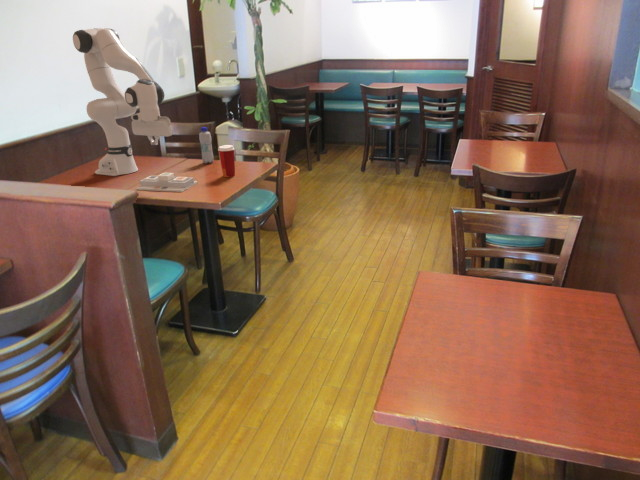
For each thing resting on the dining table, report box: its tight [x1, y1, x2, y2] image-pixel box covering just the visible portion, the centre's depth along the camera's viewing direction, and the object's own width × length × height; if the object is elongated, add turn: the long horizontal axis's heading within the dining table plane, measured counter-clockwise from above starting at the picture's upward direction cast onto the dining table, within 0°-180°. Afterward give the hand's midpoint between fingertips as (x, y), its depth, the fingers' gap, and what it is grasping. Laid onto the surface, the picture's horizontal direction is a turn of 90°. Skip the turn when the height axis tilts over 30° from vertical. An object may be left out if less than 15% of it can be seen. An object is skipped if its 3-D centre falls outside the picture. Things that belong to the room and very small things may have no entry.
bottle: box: [198, 126, 214, 164], centre depth 283 cm, size 7×7×20 cm
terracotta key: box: [172, 176, 190, 182], centre depth 242 cm, size 6×6×3 cm
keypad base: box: [136, 176, 198, 193], centre depth 245 cm, size 24×15×4 cm, turn 74°
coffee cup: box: [217, 144, 236, 178], centre depth 256 cm, size 8×8×15 cm
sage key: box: [157, 172, 176, 182], centre depth 244 cm, size 6×6×3 cm
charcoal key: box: [144, 175, 158, 181], centre depth 246 cm, size 6×6×3 cm
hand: (154, 144), depth 245 cm, fingers closed
